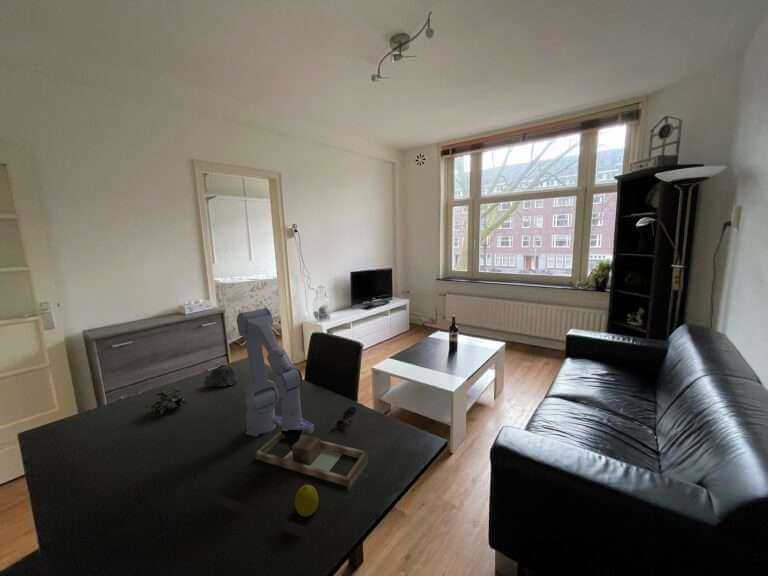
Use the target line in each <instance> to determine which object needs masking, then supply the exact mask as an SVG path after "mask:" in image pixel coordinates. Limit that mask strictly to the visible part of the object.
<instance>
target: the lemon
mask: <svg viewBox="0 0 768 576" xmlns="http://www.w3.org/2000/svg"><path fill="white" fill-rule="evenodd" d="M294 498H295V499H294V506H295V510H296V512H297V514H299V515H300V516H301V517H304V518H306V517H307V518H308V517H311V516H312V515H313V514H315V512H316V510H317V508H318V506H319V495H318V492H317V490H316V488H315V487H314V486H313V485H312V484H311V485H310V484H304V485H302V486H301V487H300V488H299V489H298V490H297V491H296V495H295V497H294Z"/></svg>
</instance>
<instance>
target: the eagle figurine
mask: <svg viewBox="0 0 768 576" xmlns="http://www.w3.org/2000/svg"><path fill="white" fill-rule="evenodd" d="M356 412H357V408H356V407H355V406H350V407H348V409H346V410H345V411H344V412H343V414H342V417H341V418H337V419H336V420H334V421H333V423H332V424H333V425H334V426H336V425H339V426H340V427H338V429H339V430H342V431H345V430H346V428H348V427H349V426H351V424H352V423H351V422H350V421H352V419H351V418H353V416H355V414H356Z"/></svg>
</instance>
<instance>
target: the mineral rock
mask: <svg viewBox="0 0 768 576" xmlns="http://www.w3.org/2000/svg"><path fill="white" fill-rule="evenodd" d="M237 380H238V381H239V377H238V372H237V370H236V368H235V367H234V366H233V365H227V364H220V365H219V366H217V367H216V368H214V369H213V370H212V371H211V373H210V374H207V375H206V376H205V380H204V381H203V385H205V386H206V387H211V386H212V387H213V386H215V387H216V386H217V387H218V386H219V387H227V386H226V385H230V384H234V383H235V384H237V383H236V381H237Z"/></svg>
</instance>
